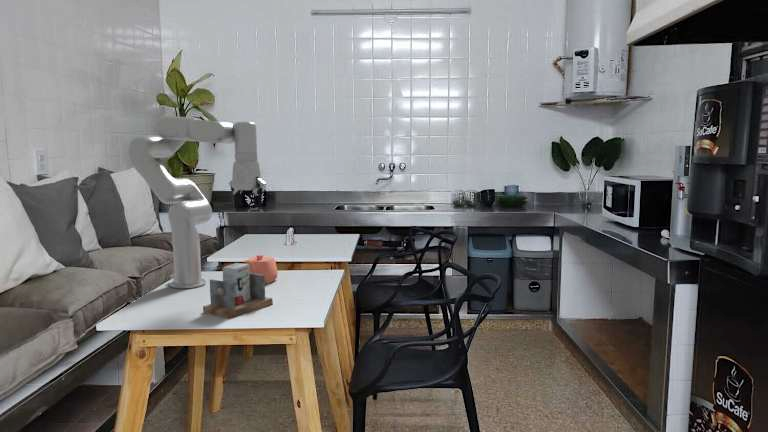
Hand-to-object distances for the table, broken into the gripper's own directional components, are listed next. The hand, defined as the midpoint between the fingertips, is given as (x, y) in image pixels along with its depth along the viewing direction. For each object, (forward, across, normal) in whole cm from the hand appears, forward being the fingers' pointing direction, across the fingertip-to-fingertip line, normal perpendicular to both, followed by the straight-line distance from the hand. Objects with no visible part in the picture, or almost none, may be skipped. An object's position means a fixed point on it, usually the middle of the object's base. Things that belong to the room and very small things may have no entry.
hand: (248, 206), depth 202 cm
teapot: (+31, -7, +11) cm, 33 cm away
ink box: (+28, +14, -19) cm, 37 cm away
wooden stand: (+30, +14, -19) cm, 38 cm away
